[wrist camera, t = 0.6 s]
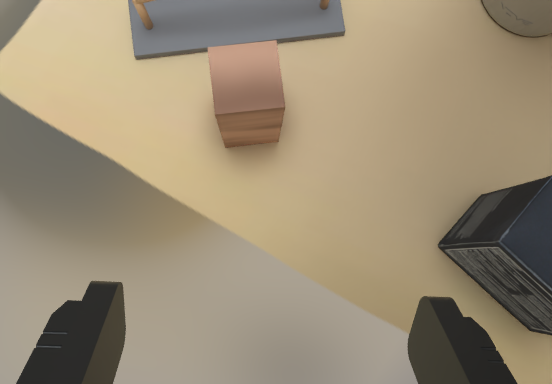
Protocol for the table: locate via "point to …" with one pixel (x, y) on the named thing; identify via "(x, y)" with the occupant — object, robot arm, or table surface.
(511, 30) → the robot arm
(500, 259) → the small box
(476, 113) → the table surface
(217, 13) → the board with wooden handle
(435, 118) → the table surface
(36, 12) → the table surface
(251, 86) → the block
